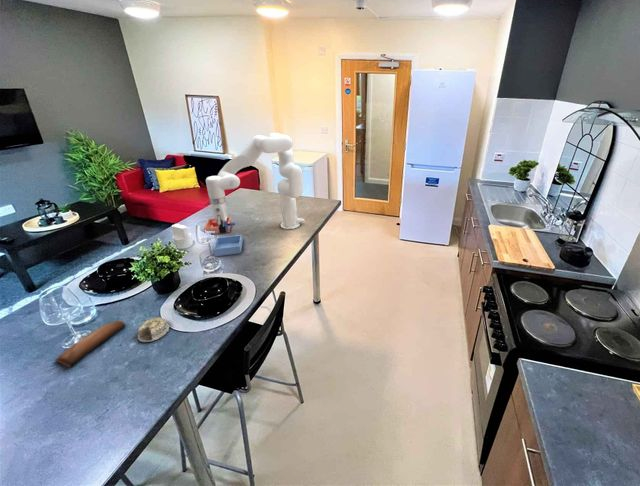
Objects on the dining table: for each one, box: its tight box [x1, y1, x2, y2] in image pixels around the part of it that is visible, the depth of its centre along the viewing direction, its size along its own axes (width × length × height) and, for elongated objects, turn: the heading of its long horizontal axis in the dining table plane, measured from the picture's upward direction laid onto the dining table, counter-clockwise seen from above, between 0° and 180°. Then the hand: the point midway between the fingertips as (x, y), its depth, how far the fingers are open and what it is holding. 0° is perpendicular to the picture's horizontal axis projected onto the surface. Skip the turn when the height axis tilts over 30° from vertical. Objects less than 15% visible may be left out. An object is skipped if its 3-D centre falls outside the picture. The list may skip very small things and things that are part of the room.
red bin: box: [203, 216, 232, 235], centre depth 183 cm, size 13×13×4 cm
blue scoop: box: [217, 221, 236, 233], centre depth 157 cm, size 9×5×5 cm, turn 107°
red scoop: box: [212, 220, 227, 227], centre depth 183 cm, size 9×5×5 cm, turn 107°
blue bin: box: [212, 234, 244, 257], centre depth 162 cm, size 13×13×4 cm
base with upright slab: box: [171, 223, 194, 250], centre depth 163 cm, size 9×9×12 cm
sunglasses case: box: [55, 320, 126, 368], centre depth 103 cm, size 18×7×7 cm
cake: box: [136, 317, 171, 343], centre depth 108 cm, size 10×10×5 cm
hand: (223, 230), depth 157 cm, fingers closed on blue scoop, 4 cm apart
